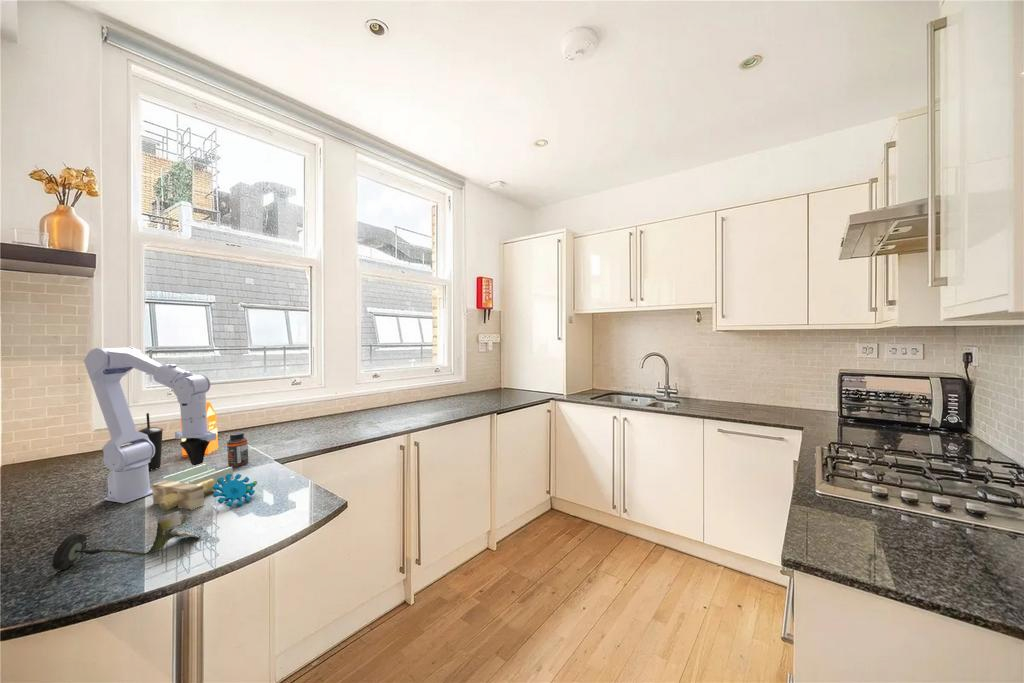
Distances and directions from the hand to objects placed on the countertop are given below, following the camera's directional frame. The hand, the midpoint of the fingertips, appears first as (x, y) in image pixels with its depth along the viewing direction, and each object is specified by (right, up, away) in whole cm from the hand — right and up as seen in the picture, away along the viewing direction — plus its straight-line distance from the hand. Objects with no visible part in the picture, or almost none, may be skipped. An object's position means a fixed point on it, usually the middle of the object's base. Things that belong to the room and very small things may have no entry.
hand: (197, 464), depth 109 cm
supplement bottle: (-8, -9, +27) cm, 29 cm away
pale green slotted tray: (-8, -9, +10) cm, 16 cm away
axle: (0, -8, -2) cm, 8 cm away
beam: (-1, -10, -5) cm, 11 cm away
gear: (+15, -9, -5) cm, 18 cm away
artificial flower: (+10, -10, -28) cm, 31 cm away
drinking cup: (-38, -10, +26) cm, 47 cm away
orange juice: (-35, -10, +44) cm, 57 cm away
